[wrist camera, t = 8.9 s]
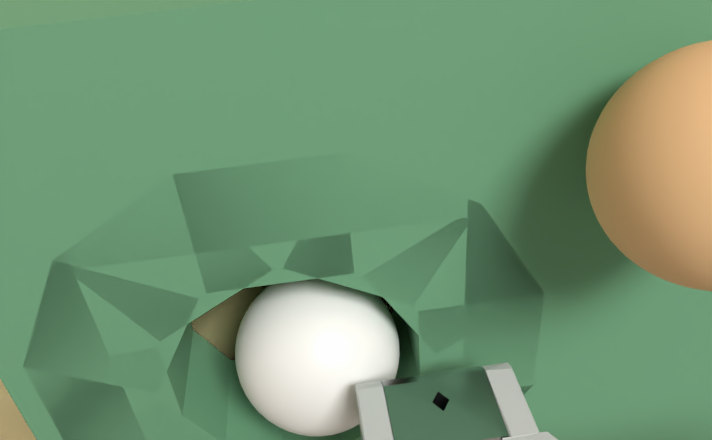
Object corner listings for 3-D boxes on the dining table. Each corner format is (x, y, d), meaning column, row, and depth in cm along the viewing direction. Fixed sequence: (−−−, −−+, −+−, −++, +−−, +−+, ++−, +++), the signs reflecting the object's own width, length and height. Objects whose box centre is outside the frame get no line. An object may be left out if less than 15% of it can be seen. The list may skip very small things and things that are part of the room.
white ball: (376, 224, 14) (220, 252, 14) (410, 333, 11) (215, 370, 11) (388, 336, 16) (252, 362, 16) (420, 453, 13) (254, 487, 13)
